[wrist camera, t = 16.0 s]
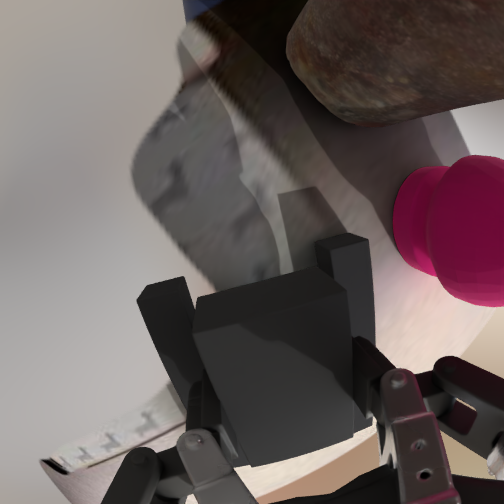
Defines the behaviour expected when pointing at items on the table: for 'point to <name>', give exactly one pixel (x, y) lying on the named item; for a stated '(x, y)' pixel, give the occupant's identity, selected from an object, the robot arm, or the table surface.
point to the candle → (398, 56)
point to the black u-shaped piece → (182, 313)
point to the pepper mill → (456, 227)
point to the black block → (280, 362)
